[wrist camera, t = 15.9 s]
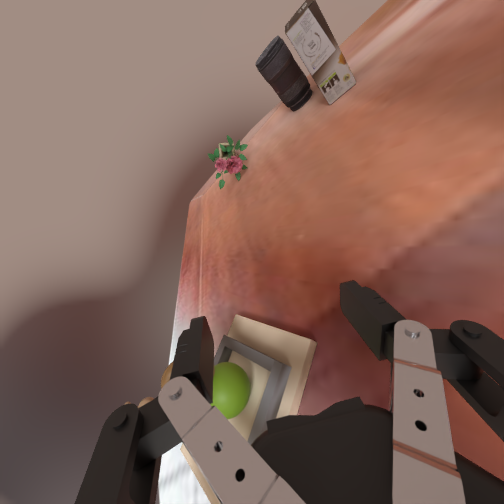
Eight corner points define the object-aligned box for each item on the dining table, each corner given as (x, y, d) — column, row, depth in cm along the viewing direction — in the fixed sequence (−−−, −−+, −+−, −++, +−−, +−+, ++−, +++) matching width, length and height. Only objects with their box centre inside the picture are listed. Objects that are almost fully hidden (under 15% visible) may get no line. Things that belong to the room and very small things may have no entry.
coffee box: (358, 82, 47) (315, -3, 38) (329, 106, 50) (284, 33, 42) (348, 70, 52) (310, -6, 44) (323, 92, 56) (283, 26, 48)
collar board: (241, 316, 36) (228, 310, 34) (317, 342, 25) (302, 335, 23) (188, 449, 30) (169, 448, 28) (255, 560, 19) (231, 569, 17)
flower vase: (253, 163, 88) (265, 171, 56) (226, 179, 90) (223, 197, 58) (237, 133, 84) (240, 124, 52) (209, 151, 85) (195, 152, 53)
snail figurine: (217, 406, 28) (121, 389, 22) (243, 358, 29) (158, 329, 23) (237, 444, 24) (124, 437, 17) (268, 387, 25) (170, 360, 18)
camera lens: (285, 114, 67) (250, 68, 60) (304, 91, 66) (271, 40, 58) (298, 113, 61) (261, 60, 53) (320, 87, 59) (284, 29, 51)
